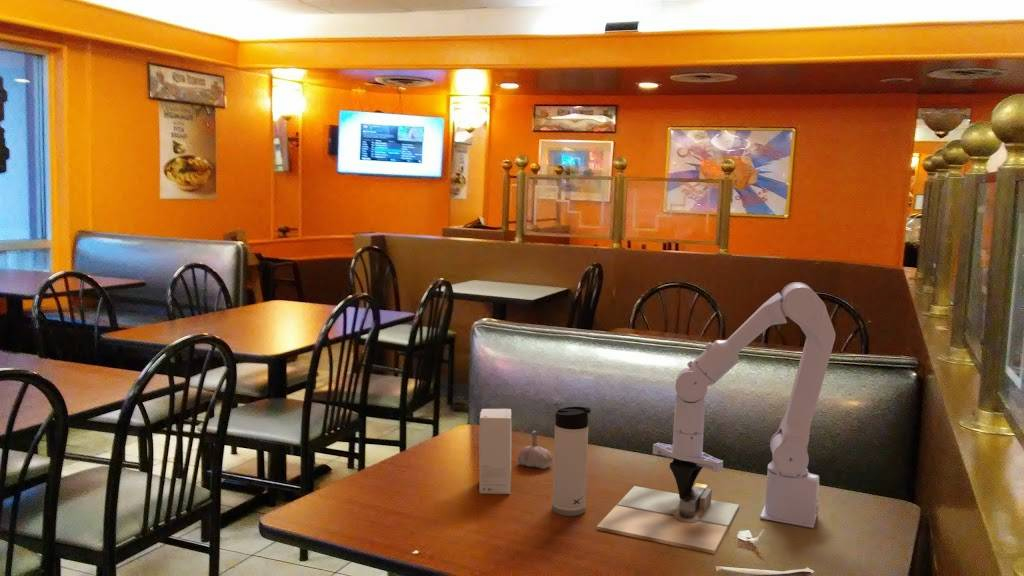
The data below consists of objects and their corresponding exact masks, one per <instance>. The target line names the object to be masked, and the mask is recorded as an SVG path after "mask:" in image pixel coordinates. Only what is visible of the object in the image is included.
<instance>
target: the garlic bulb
mask: <svg viewBox="0 0 1024 576" xmlns="http://www.w3.org/2000/svg"><path fill="white" fill-rule="evenodd" d="M531 437H532V438H531V442H532V443H531V445H528V446H527V445H526V446H525V447H523V448H522V449H521V450H520V452H519V454H518V455H517V461H518V463H519V464H520V465H521V466H526V467H529V468H532V467H533V468H538V469H541V470H542V469H543V470H544V469H547V468H548V467H550V466H551V465H552V464H553V462H554V456H553V455H552V453H551V452H550V451H549V450H548V449H547V448H544V447H542V446H539V445H538V438H537V437H538V436H537V431H536V430H533V431H532V433H531Z"/></svg>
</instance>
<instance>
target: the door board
mask: <svg viewBox="0 0 1024 576" xmlns="http://www.w3.org/2000/svg"><path fill="white" fill-rule="evenodd" d="M712 491H713V490H712V488H710V487H708V488H706V489H705V491H704V492H703V494H702V495H701V497H700V502H699V508H698V509H697V511H696V512H695V516H694V517H693V518H684V517H681V516H680V515H679V505H680V500H681V499H680V497H679V493H675V492H670V491H664V490H658V489H653V488H648V487H642V486H636V485H634V486H633V487H632V488H631V489H629V491H628V492H627V493H626V494H625V495H623V498H621V500H619V502H618V503H616V505H615V506H614V507H613V508H612V509H611V510H610V511H609V513H608V514H606V516H605V517H604V518H602V520H601V521H600V522H599V523H598V524H597V526H596V530H599V531H602V532H608V533H611V534H612V533H613V534H618V535H622V536H627V537H632V538H635V539H641V540H645V541H651V542H656V543H661V544H666V545H671V546H674V547H680V548H684V549H689V550H695V551H699V552H703V553H709V554H712V555H715V554H716V552H717V551H718V548H719V546H720V545H721V543H722V540H723V539H724V537H725V535H726V533H727V531H728V529H729V527H730V526H731V523H732V521H733V520H734V518H735V516H736V514H737V512H738V510H739V509H740V504H738V503H737V504H736V503H731V502H726V501H720V500H714V499H712Z"/></svg>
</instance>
